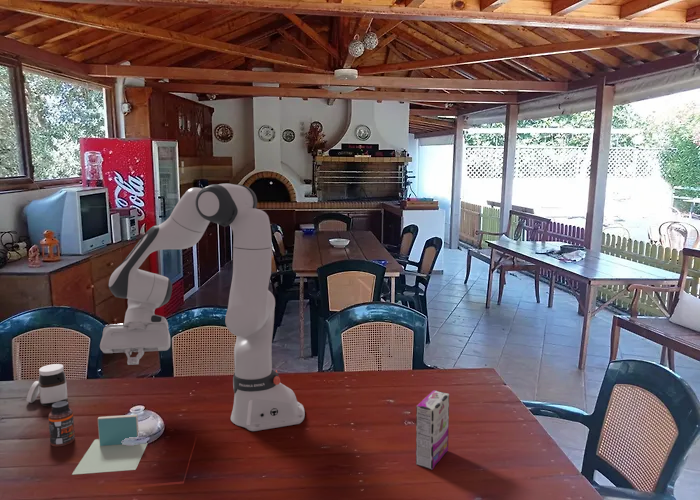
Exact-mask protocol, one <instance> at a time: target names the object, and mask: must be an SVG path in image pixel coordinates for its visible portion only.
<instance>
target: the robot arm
mask: <svg viewBox="0 0 700 500" xmlns="http://www.w3.org/2000/svg"><path fill="white" fill-rule="evenodd" d="M257 207H258V198H257V195H256V193H255V191H253V189H251V188H250V187H248V186H246V185H243V184H233V183H219V184H217V183H215V184H209V185H208V186H205V187H202V188H201V187H191V188H189V189H187V190H186V191H185V193H184V194H182V196H181V197H180V199H179V200H178V202H177V203H176V205H175V206H174V208H173V210H171V213H170V216H169V217H168V218H167V219H166V220H165V221H163V222H161V223H159V224H157V225H153V226H152V227H150V228H149V229H148V230H147V231H146V232H145V233H144V234H143V236H142V237H141V238H140V239H139V240H138V242H137V243H136V244H135V246H133V249H131V251H130V252H129V253H128V255H127V256H126V257H125V259H123V261H121V263H120V264H119V265H118V266H117V267H116V268H115V269H114V271H113V272H112V273H111V275H110V277H109V280H108V286H107V287H108V289H109V290H110V292H111V294H112V295H113V296H114V297H115V298H118V299H127V309H126V311H125V315H124V321H123V323H117V324H116V323H114V324H113V323H110V324H108V325H106V326H105V327H103V329H102V330H103V331H102V336H101V339H100V344H99V348H100V351H102V353H103V354H113V353H115V354H117V353H118V354H119V353H124V354H125V355H126V357H127V361H126V362H127V365H128V366H129V365H132V366H133V365H140V364H139V363H140V359H142V357H143V356H144V354H145V352H158V351H159V352H163V351H164V352H165V351H168V350H169V349H170V348H171V335H170V334H171V333H170V331H169V323H168V320H167V319H166V317H164V316H162V315H158V314H155V310H156V309H159V308H161V307H163V306H164V305H166V304H167V303H169V301H170V300H171V297H172V293H173V285H172V281H171V280H170V278H169V277H167V276H164V275H161V274H159V273H154V272H150V271H147V270H143V269H140V267H141V266H142V265H143V263H144V262H145V261H146V259H147V258H148V257H149V256H150V254H152V253H154V252H157V251H163V250H185V249H189V248H191V247H194V246H195V245H196V244H197V243H199V241H200V240H201V239H202V237H203V236H204V234H205V232H206V230H207V228H208V226H209V224H210V223H215V224H217V225H219V226H222V227H223V228H224V227H225V228H226V227H228V226H229V227H230V228H231V231H232V235H233V238H232V239H233V245H232V247H233V250H232V257H233V258H232V260H233V261H232V279H231V285H230V288H229V297H228V304H227V310H226V313H225V318H224V319H225V320H224V321H225V323H224V324H225V325H226V328H227V329H228V331H229V332H230V333H231V334H233V335H234V336H236V340H235V344H234V349H233V354H234V355H233V356H234V358H233V359H234V372H233V377H232V386H233V388H232V389H233V393H234V395H233V396H234V397H233V406H232V411H231V415H230V421H231V422H232V423H233V424H235V425H236V426H238V427H242V428H245V429H246V430H248V431H250V432H258V431H262V430H270V429H275V428H283V427H287V426H288V427H289V426H293V425H300V424H301V423H302V422H303V421H304V420H305V416H306V415H305V414H306V413H305V412H306V411H305V408H304V405H303V404H302V403H300V402H299V401H298V399H297V396H296V394H295V392H294V391H293V389H291V388H290V387H288V386H286V385H285V384H283V383H281V378H280V376H279V373H278V370H277V369H275V370H273V367H272V365H273V364H272V363H273V362H272V345H273V344H272V343H273V334H274V326H275V325H274V324H275V310H276V309H275V307H276V298H275V296H274V294H273V293H272V292H271V291H270V289H269V286H270V279H271V276H272V252H273V251H272V247H273V245H272V241H273V240H272V228H271V221H270V217H269V215H268V214H267V212H266V211H264V210H262V209H259V208H257ZM132 353H137V354H136V356H133V357H132V356H131V355H132Z"/></svg>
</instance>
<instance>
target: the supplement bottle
mask: <svg viewBox="0 0 700 500" xmlns="http://www.w3.org/2000/svg"><path fill="white" fill-rule="evenodd" d="M74 423H75V421H74V411H73V409H72V408H69V402H68V401H67V400H66V401H61V402H56V403H54V404H53V405H52V406H51V411H50V412H49V414H48V430H49V442H50V445H51V446H53V447H54V448H55V447H64V446H67V445H69V444H72V443H73V442H74V440H75V439H76V438H75V437H76V435H75V424H74Z"/></svg>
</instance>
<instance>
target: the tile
mask: <svg viewBox="0 0 700 500" xmlns="http://www.w3.org/2000/svg"><path fill="white" fill-rule="evenodd" d="M138 415H139V414H125V415H107V416H106V415H105V416H98V418H97V427H98V428H97V429H98V430H97V431H98V439H99V444H100V446H111V445H122V443H121V441H122V440H124V439H125V438H129V437H137V436H138V432H139V416H138ZM139 433H140V432H139Z"/></svg>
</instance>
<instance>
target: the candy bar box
mask: <svg viewBox="0 0 700 500" xmlns="http://www.w3.org/2000/svg"><path fill="white" fill-rule="evenodd" d="M415 409H416V410H415V411H416V412H415V414H416V416H415V419H416V420H415V421H416V422H415V423H416V424H415V426H416V427H415V429H416V432H415V436H416V437H415V439H416V440H415V444H416V445H415V446H416V447H415V465H416V466H419V467H422V468H426V469H429V470H434V468H435V467H436V466H437V464H439V462H440V461H441V459H442V458H443V457H444V456H445V454H446V453H447V452H449V429H450V428H449V420H450V418H449V415H450V410H449V409H450V393H448V392H447V393H446V392H443V391H438V390H436V389H435V390H432V391H430V393H428V394H427V395H426V396H425V397H424V398H423V399H422V400H421V401H420V402H419V403H418V404H416V408H415Z"/></svg>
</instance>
